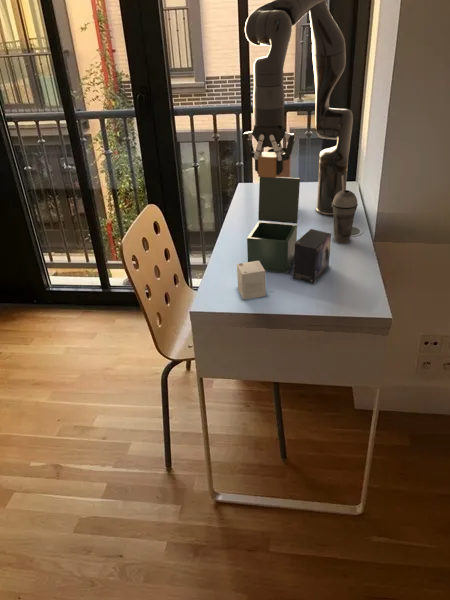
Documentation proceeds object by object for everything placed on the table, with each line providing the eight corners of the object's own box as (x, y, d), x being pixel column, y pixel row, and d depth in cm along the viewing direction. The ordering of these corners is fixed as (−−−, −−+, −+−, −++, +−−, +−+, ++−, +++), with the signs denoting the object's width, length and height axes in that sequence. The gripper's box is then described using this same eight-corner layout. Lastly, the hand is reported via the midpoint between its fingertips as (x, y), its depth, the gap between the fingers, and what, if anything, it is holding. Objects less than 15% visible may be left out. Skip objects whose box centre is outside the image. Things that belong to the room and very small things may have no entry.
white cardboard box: (266, 296, 128) (266, 270, 124) (242, 300, 127) (241, 274, 123) (259, 285, 133) (259, 260, 129) (237, 288, 132) (236, 263, 128)
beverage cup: (354, 246, 149) (360, 180, 139) (329, 245, 151) (333, 179, 140) (354, 235, 156) (360, 171, 145) (330, 234, 157) (334, 171, 146)
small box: (314, 284, 132) (316, 248, 126) (292, 279, 135) (292, 243, 129) (330, 267, 139) (332, 232, 134) (308, 262, 142) (309, 228, 137)
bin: (287, 273, 138) (287, 241, 133) (247, 268, 141) (246, 238, 136) (296, 254, 147) (297, 224, 142) (259, 250, 150) (258, 221, 145)
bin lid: (299, 178, 137) (300, 178, 137) (259, 176, 140) (260, 176, 141) (296, 223, 142) (297, 223, 142) (258, 220, 145) (258, 220, 145)
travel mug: (293, 205, 179) (294, 148, 169) (283, 213, 174) (283, 154, 163) (273, 202, 183) (273, 146, 172) (263, 209, 177) (263, 152, 167)
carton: (258, 176, 131) (257, 156, 128) (262, 171, 135) (262, 151, 132) (275, 177, 130) (275, 157, 127) (279, 172, 133) (279, 152, 131)
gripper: (301, 102, 124) (299, 170, 133) (245, 101, 128) (247, 167, 137) (294, 108, 118) (292, 179, 127) (236, 107, 122) (238, 176, 131)
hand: (269, 173), depth 132 cm, fingers closed on carton, 4 cm apart
